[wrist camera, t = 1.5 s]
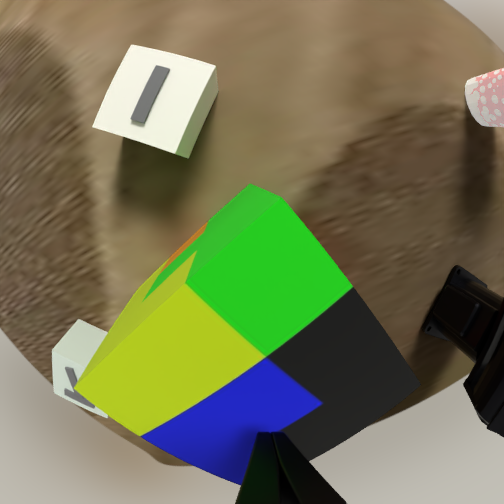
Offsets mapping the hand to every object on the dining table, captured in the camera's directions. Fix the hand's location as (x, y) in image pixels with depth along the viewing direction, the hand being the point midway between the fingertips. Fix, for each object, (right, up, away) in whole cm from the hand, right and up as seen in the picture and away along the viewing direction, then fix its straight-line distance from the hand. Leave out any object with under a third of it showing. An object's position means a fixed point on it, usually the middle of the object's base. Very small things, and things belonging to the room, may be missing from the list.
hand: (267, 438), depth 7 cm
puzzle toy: (-1, +3, +11) cm, 12 cm away
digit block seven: (-12, -2, +11) cm, 17 cm away
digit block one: (-5, +14, +7) cm, 17 cm away
